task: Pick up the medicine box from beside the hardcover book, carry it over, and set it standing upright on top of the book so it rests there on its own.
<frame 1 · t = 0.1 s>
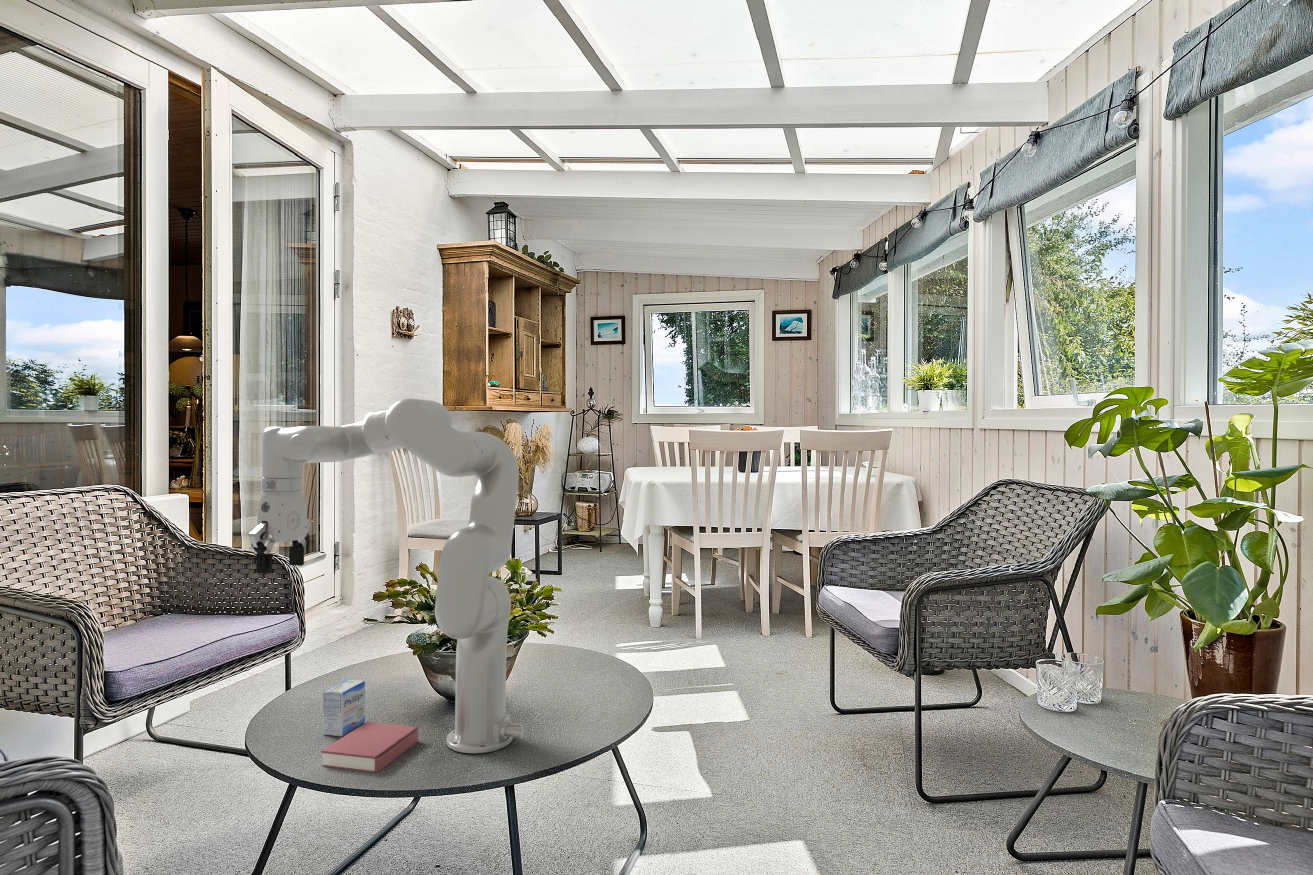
hand: (280, 569, 155), 31 cm above the table, tool pointing down, fingers open, 9 cm apart
book: (371, 754, 140), on the table
medicine box: (344, 729, 151), on the table
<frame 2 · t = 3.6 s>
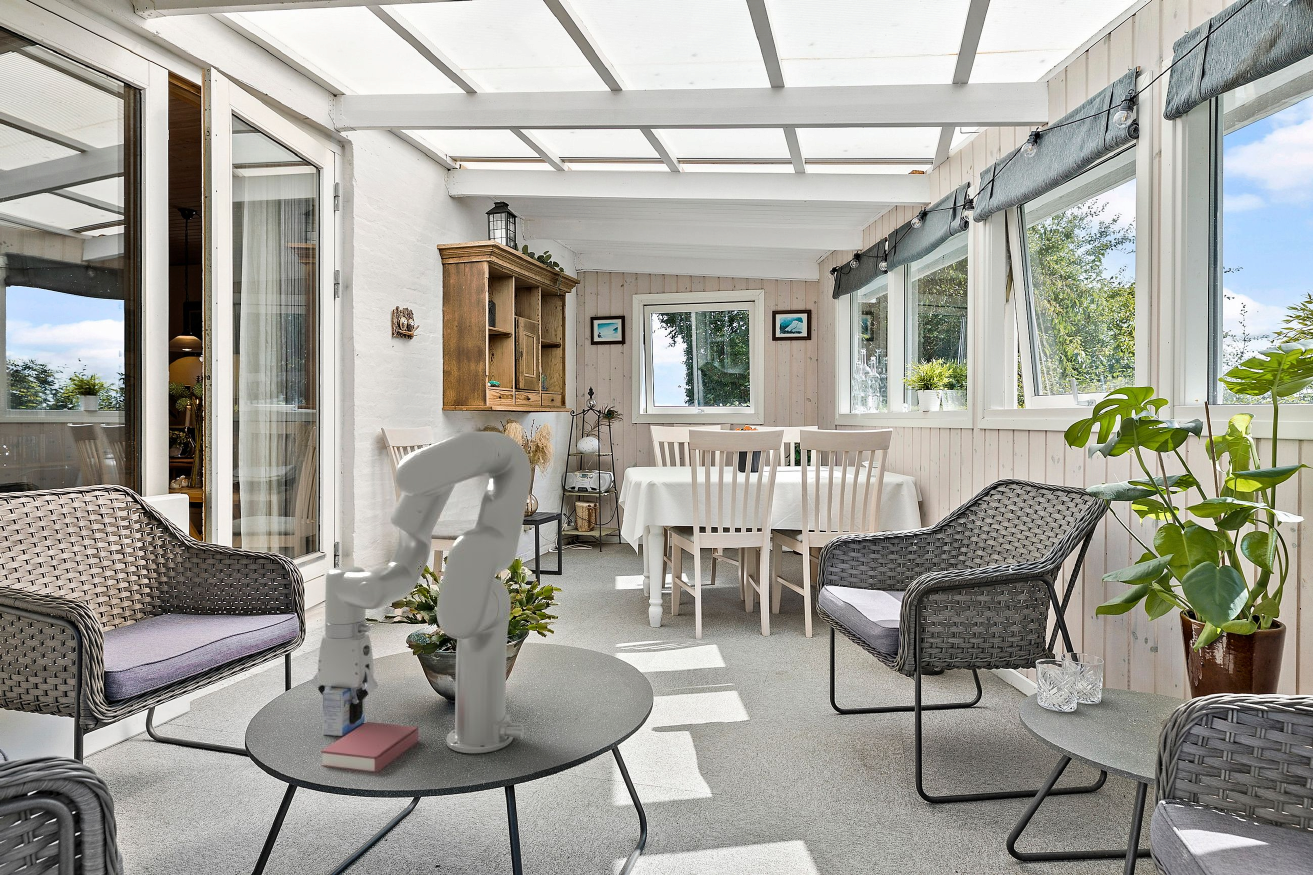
hand: (344, 718, 151), 2 cm above the table, tool pointing down, fingers closed on medicine box, 4 cm apart
medicine box: (343, 729, 151), on the table, touching gripper
everything else where it was.
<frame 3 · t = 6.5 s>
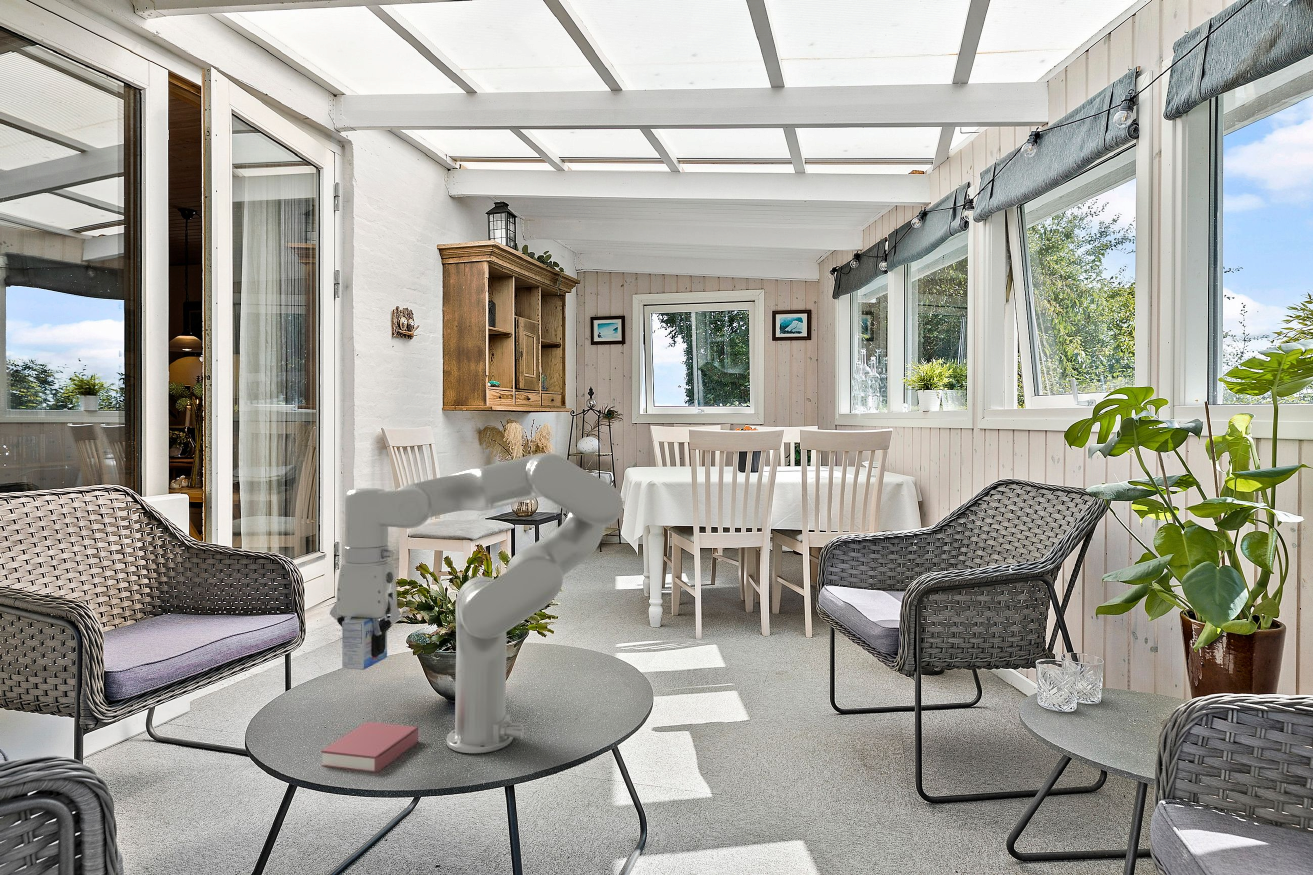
hand: (365, 652, 139), 19 cm above the table, tool pointing down, fingers closed on medicine box, 4 cm apart
medicine box: (365, 664, 139), point 17 cm above the table, touching gripper
everything else where it was.
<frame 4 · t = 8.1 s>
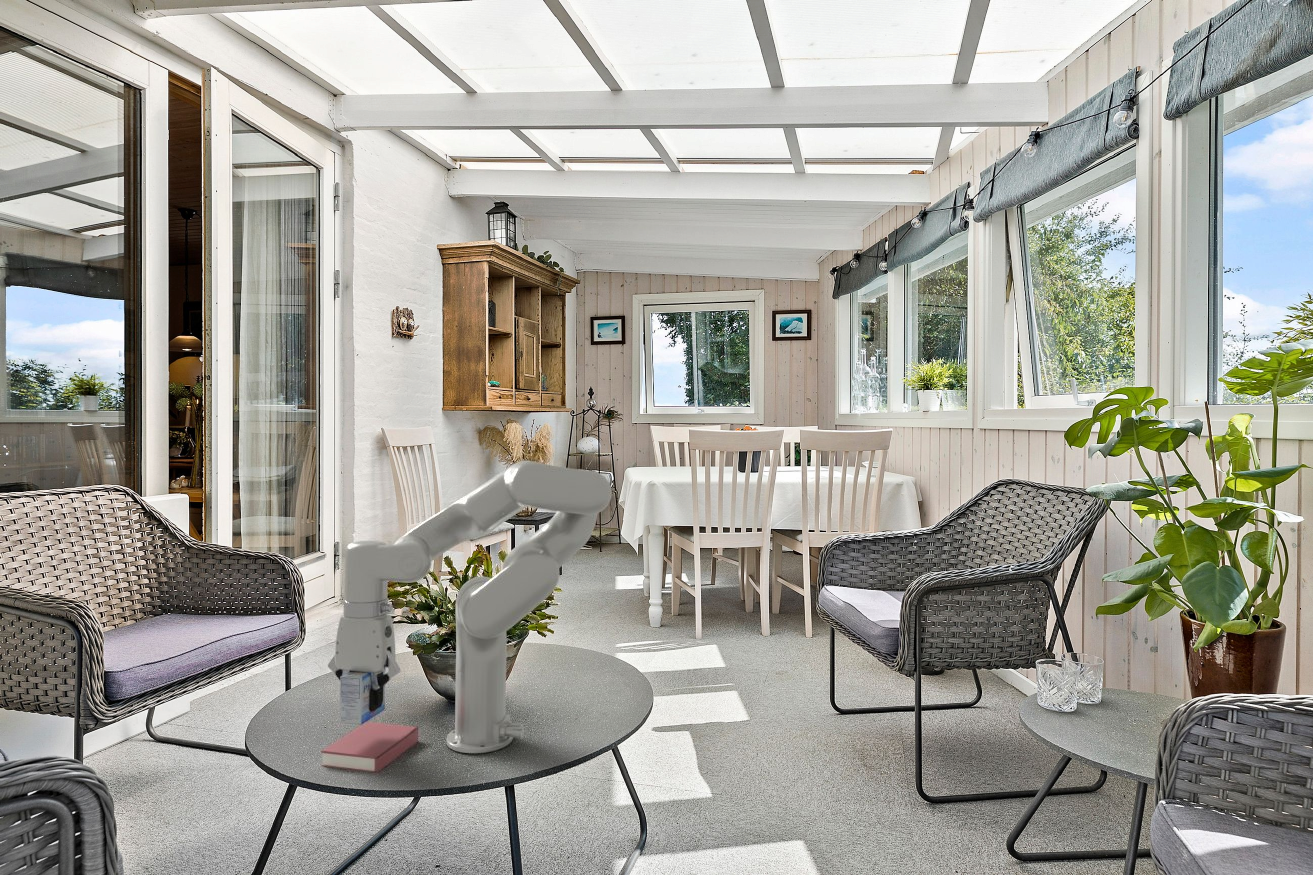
hand: (363, 706, 139), 9 cm above the table, tool pointing down, fingers closed on medicine box, 4 cm apart
medicine box: (362, 717, 139), point 7 cm above the table, touching gripper
everything else where it was.
when the fingers open (6 cm above the table, at t = 9.5 s): medicine box drops 1 cm, resting on book.
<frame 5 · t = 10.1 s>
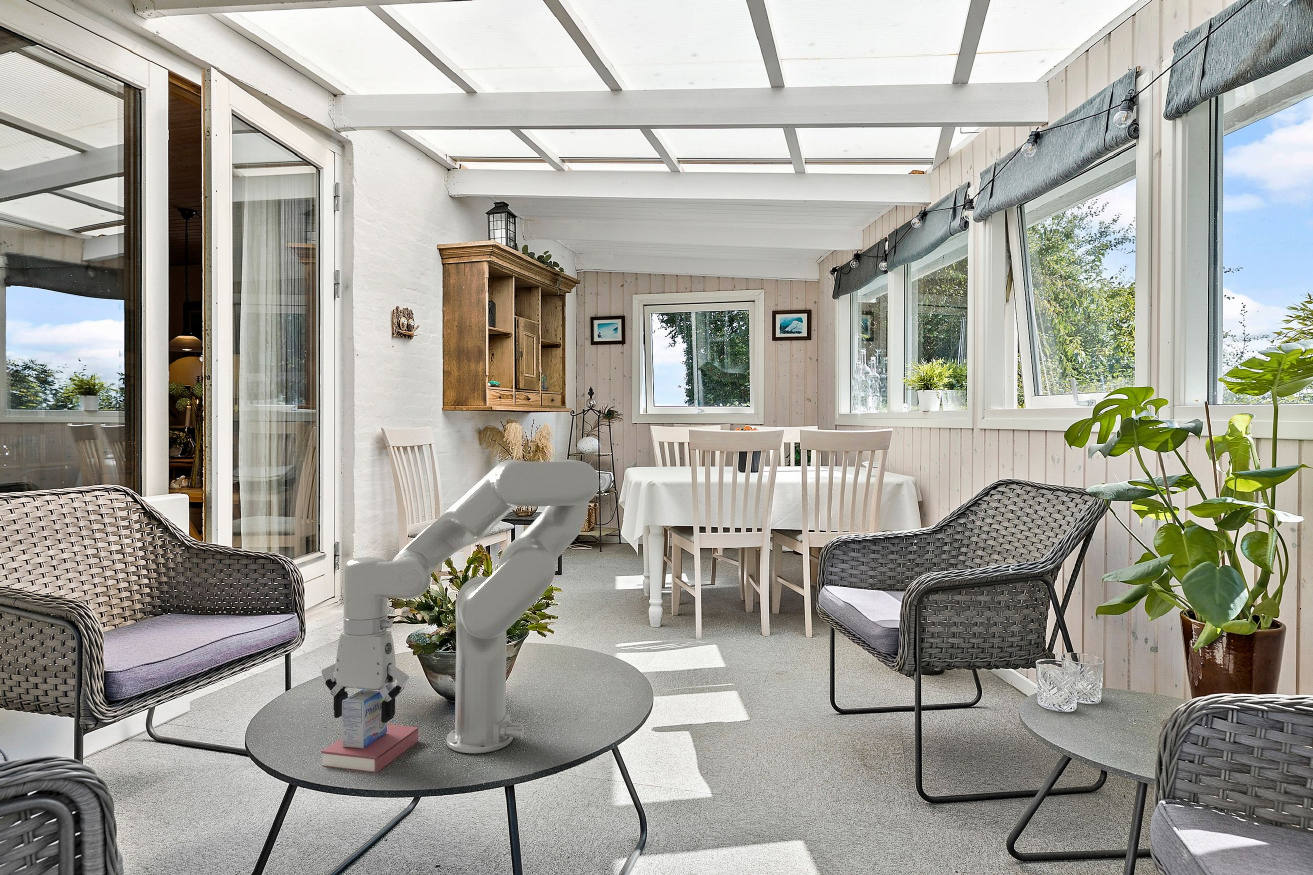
hand: (364, 717, 139), 7 cm above the table, tool pointing down, fingers open, 9 cm apart
book: (371, 754, 140), on the table, touching medicine box
medicine box: (364, 741, 139), point 2 cm above the table, touching book
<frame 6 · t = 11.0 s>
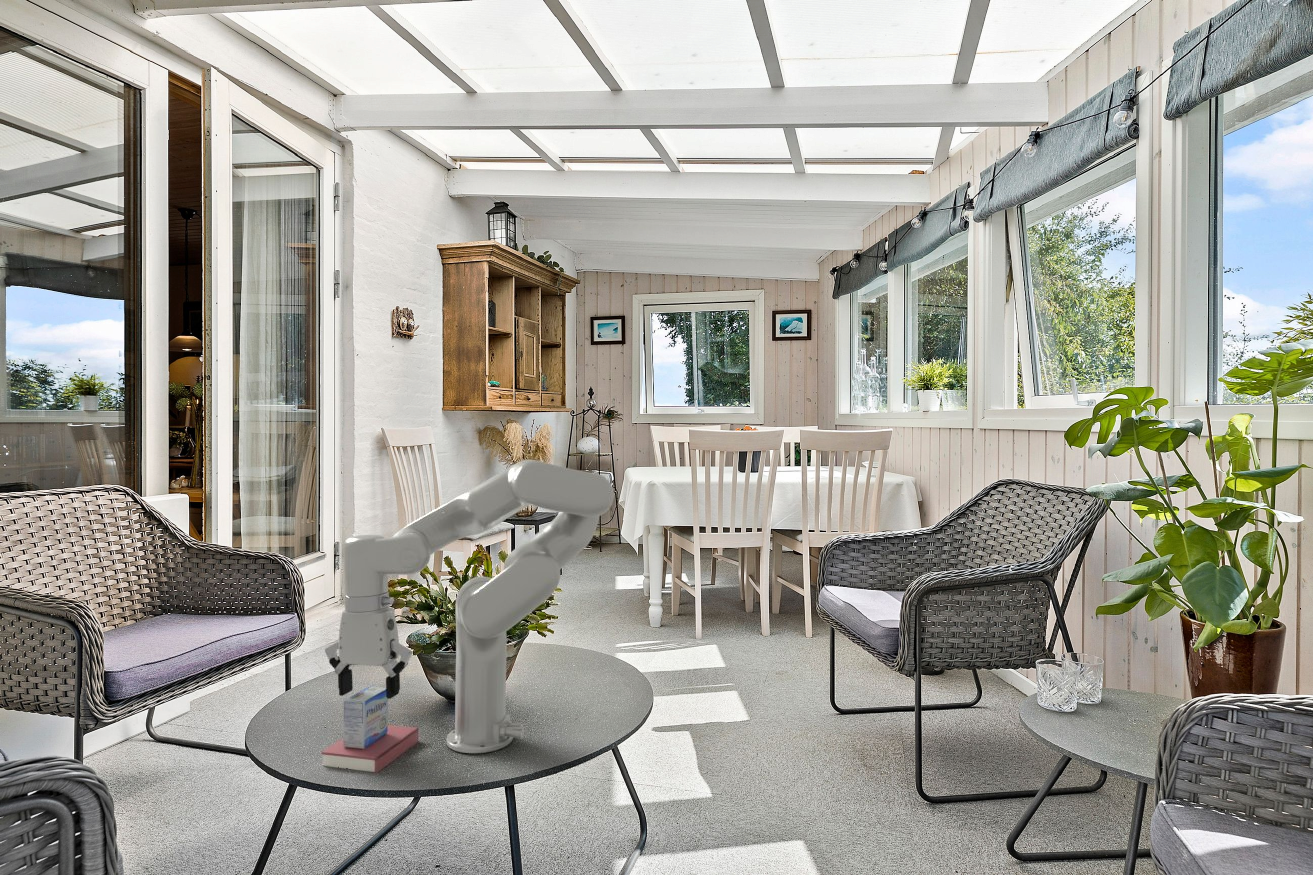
hand: (369, 694, 139), 11 cm above the table, tool pointing down, fingers open, 9 cm apart
nothing on the table moved.
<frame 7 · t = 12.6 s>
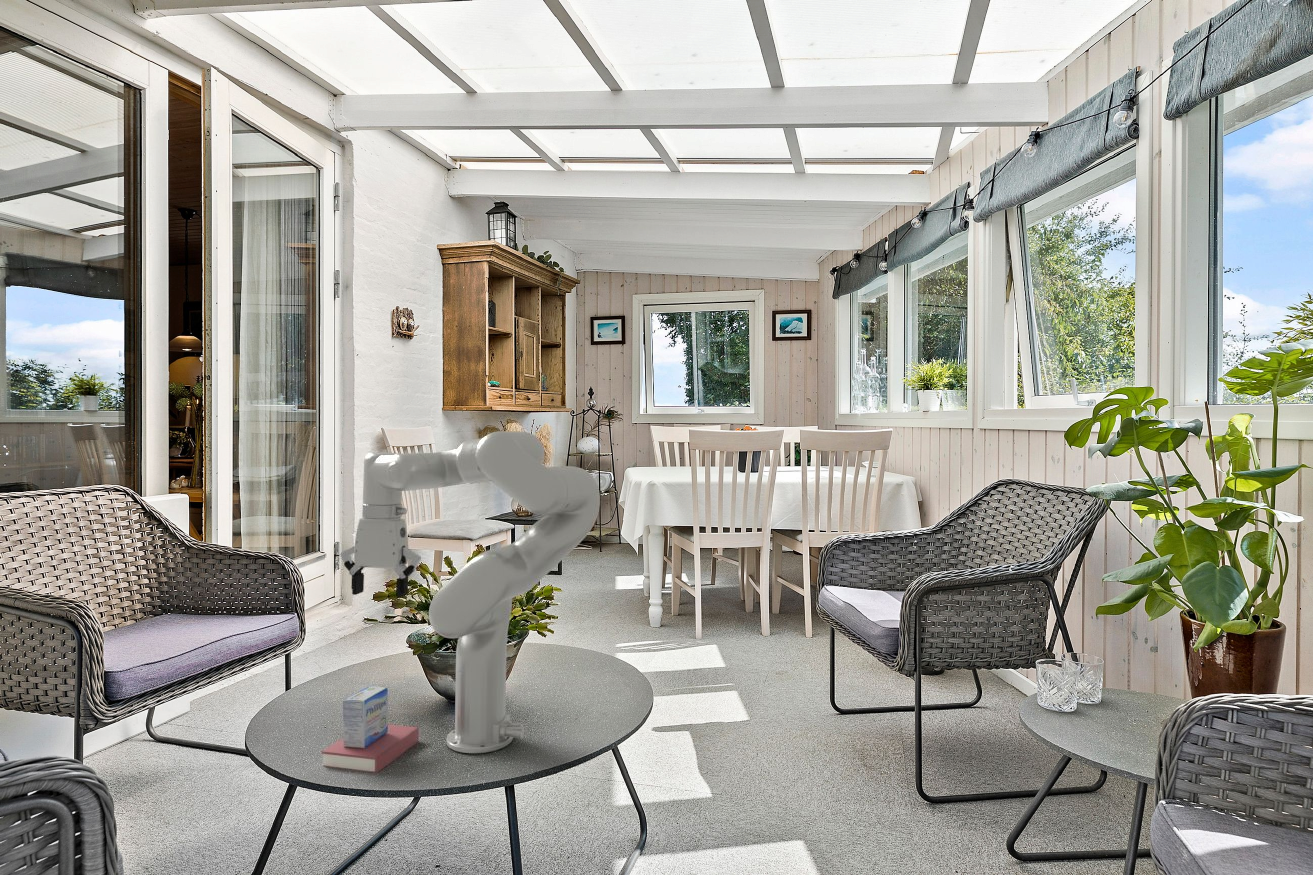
hand: (379, 595, 155), 26 cm above the table, tool pointing down, fingers open, 9 cm apart
nothing on the table moved.
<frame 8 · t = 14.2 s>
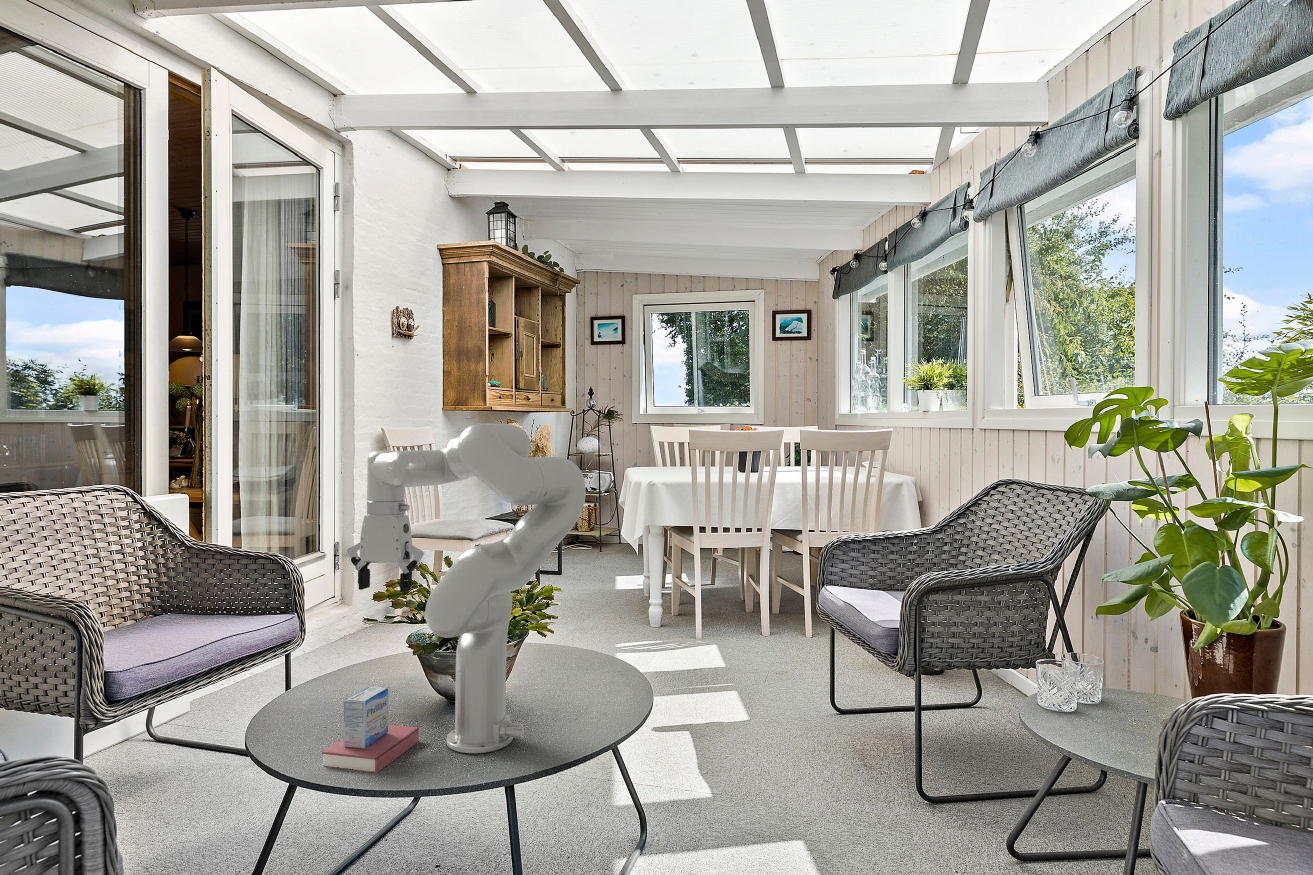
hand: (384, 589, 159), 26 cm above the table, tool pointing down, fingers open, 9 cm apart
nothing on the table moved.
at the end: medicine box inside the target area on the book (1.1 cm from its centre), point 2.8 cm above the book's base; medicine box tilted 0°; the gripper is holding nothing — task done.
